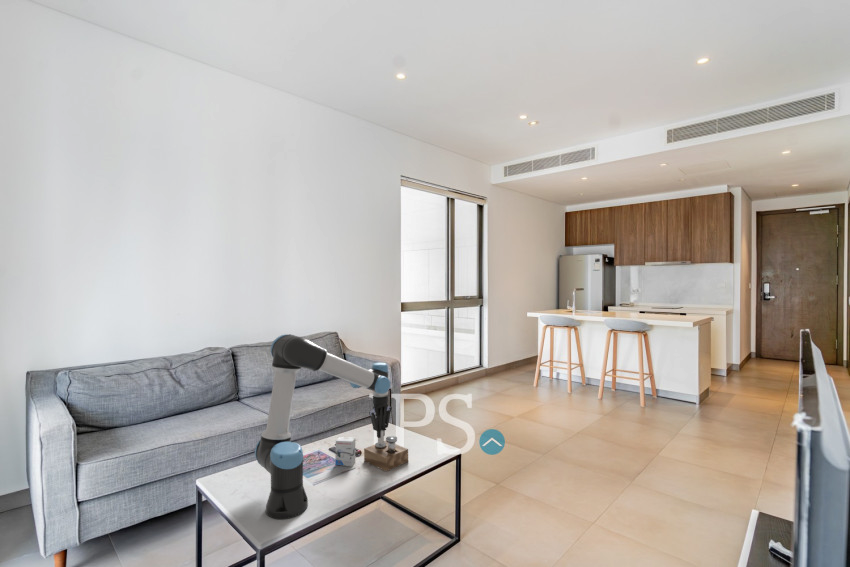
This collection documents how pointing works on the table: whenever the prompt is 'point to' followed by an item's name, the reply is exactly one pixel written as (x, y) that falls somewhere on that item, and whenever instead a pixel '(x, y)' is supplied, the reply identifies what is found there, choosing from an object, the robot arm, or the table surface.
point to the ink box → (345, 451)
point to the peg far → (380, 445)
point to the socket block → (385, 456)
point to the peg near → (391, 444)
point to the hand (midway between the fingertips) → (380, 443)
